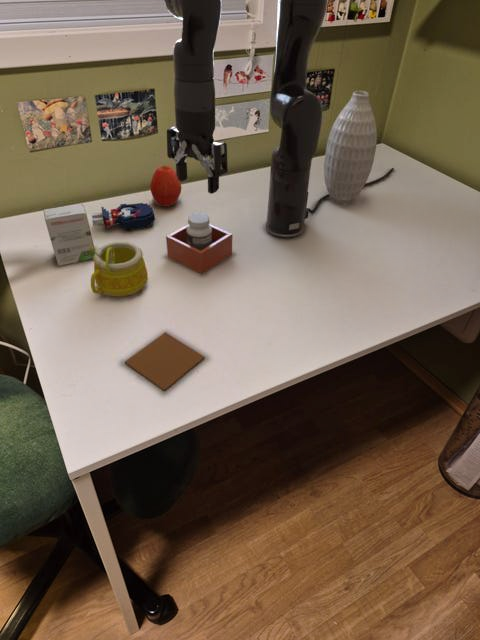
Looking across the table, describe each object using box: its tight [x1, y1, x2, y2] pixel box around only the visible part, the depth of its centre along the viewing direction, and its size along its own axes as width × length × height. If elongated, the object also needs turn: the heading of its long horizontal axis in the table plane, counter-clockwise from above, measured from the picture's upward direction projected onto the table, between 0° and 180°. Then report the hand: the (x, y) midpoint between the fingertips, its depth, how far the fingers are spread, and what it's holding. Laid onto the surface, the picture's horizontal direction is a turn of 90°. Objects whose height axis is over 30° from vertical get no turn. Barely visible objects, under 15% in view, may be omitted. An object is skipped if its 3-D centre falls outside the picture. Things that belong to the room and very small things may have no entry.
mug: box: [90, 241, 148, 297], centre depth 95 cm, size 13×11×12 cm
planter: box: [165, 223, 233, 275], centre depth 107 cm, size 11×11×6 cm
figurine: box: [91, 202, 156, 232], centre depth 117 cm, size 9×4×15 cm
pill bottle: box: [186, 212, 212, 251], centre depth 105 cm, size 6×6×10 cm
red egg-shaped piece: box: [149, 164, 182, 207], centre depth 124 cm, size 8×8×11 cm
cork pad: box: [124, 332, 206, 392], centre depth 83 cm, size 10×10×1 cm
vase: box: [323, 90, 378, 205], centre depth 122 cm, size 13×13×28 cm
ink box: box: [43, 203, 96, 267], centre depth 103 cm, size 9×5×12 cm, turn 113°
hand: (197, 186), depth 97 cm, fingers open, 8 cm apart
